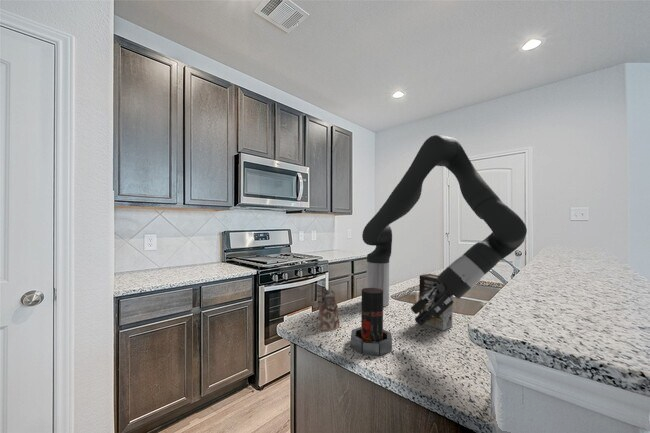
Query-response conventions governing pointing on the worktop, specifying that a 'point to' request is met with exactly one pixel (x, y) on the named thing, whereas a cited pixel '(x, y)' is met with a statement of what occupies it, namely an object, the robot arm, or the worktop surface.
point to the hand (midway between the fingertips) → (415, 316)
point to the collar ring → (371, 343)
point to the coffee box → (443, 320)
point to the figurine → (328, 312)
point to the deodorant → (372, 315)
